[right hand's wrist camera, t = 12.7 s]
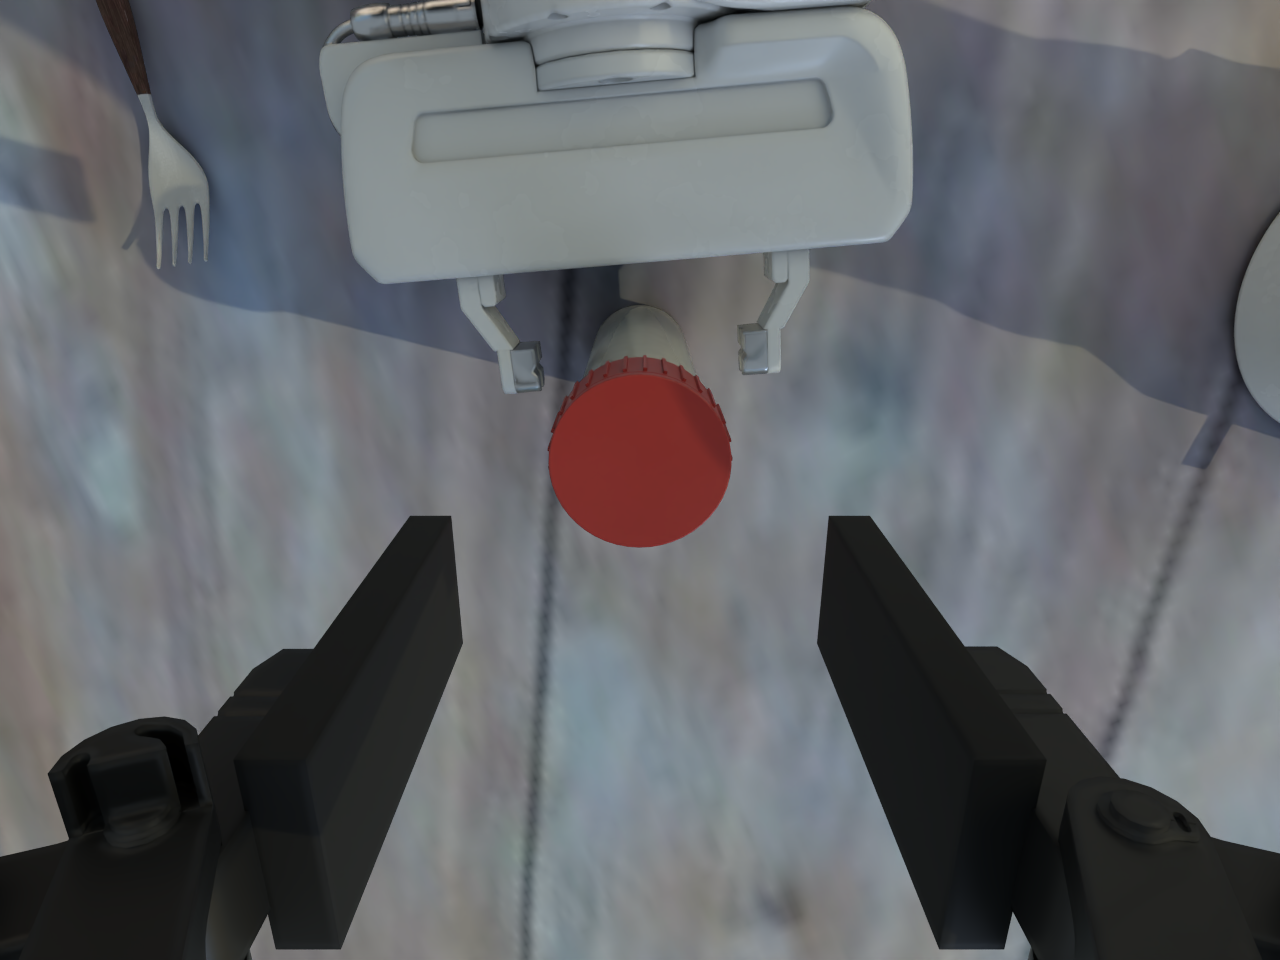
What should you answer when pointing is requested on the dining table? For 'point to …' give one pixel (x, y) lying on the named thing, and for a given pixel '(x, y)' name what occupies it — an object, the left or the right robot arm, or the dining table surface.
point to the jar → (639, 338)
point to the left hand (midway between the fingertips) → (641, 380)
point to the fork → (160, 142)
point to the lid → (639, 452)
